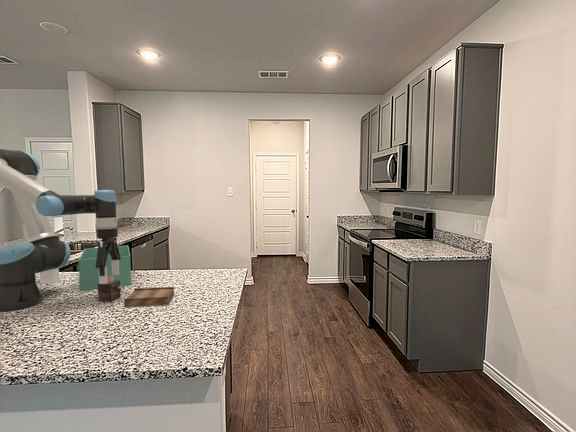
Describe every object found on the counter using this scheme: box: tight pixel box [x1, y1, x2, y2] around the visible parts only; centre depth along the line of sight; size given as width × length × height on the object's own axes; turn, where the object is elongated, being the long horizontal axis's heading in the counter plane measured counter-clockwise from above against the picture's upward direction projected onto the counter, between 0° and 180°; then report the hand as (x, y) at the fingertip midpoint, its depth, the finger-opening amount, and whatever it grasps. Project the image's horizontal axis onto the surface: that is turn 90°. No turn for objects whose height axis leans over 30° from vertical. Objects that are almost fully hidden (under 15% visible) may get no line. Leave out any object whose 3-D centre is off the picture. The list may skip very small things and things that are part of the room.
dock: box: [123, 286, 175, 308], centre depth 134 cm, size 16×14×3 cm
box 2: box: [97, 280, 122, 303], centre depth 135 cm, size 6×6×7 cm
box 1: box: [78, 245, 132, 292], centre depth 164 cm, size 21×32×14 cm, turn 28°
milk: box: [39, 267, 60, 285], centre depth 159 cm, size 6×6×22 cm
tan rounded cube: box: [107, 276, 114, 283], centre depth 135 cm, size 3×3×2 cm
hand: (109, 279), depth 134 cm, fingers open, 13 cm apart
